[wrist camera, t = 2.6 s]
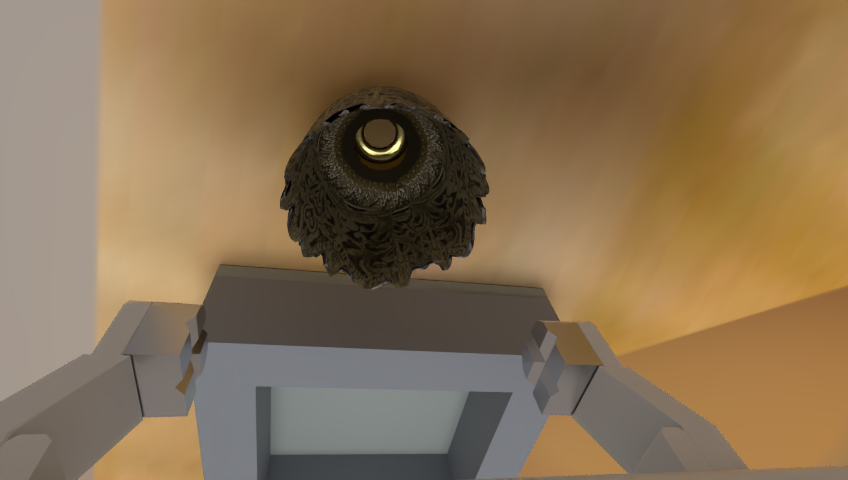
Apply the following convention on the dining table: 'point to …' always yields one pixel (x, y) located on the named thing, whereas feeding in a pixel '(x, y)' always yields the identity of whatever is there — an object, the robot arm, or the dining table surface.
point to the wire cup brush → (384, 190)
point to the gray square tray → (365, 378)
